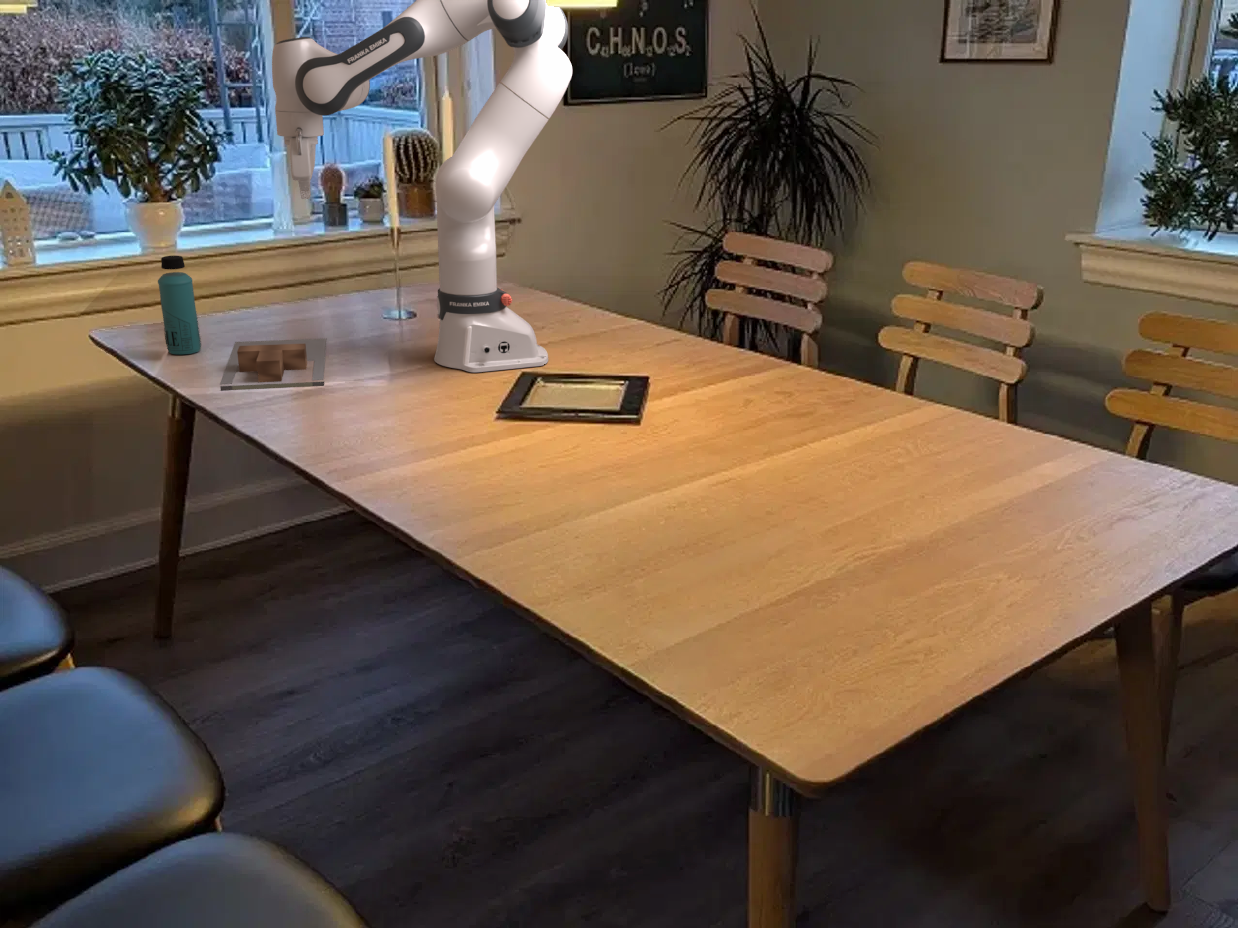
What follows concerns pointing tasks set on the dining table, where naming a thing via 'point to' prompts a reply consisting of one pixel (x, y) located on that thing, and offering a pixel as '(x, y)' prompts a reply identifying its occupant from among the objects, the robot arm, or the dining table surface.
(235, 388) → the board
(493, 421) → the dining table surface
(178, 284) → the beverage bottle
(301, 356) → the t block
